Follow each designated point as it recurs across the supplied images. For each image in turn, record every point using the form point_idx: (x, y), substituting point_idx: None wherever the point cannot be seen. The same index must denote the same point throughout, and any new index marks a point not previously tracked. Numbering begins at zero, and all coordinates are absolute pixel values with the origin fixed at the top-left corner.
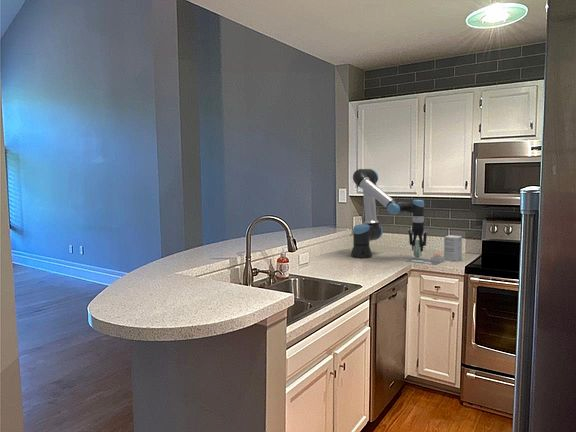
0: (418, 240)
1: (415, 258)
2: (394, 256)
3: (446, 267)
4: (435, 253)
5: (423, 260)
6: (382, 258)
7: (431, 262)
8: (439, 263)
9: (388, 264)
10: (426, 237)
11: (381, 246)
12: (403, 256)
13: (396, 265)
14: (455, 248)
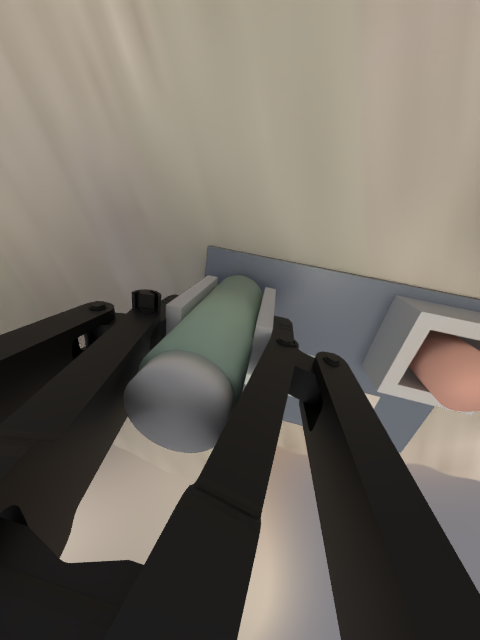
0: (206, 446)
1: (224, 276)
2: (47, 216)
3: (470, 469)
4: (447, 396)
5: (302, 336)
6: None
7: (370, 388)
8: (433, 406)
9: (156, 453)
10: (454, 560)
11: None
12: (94, 178)
13: (195, 464)
14: None
